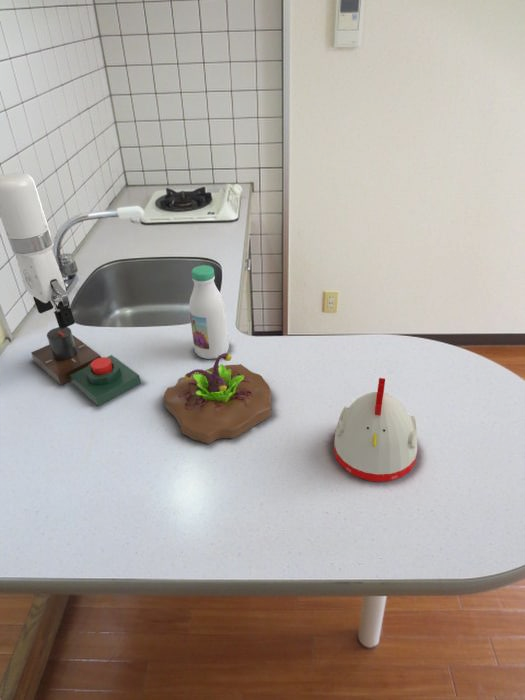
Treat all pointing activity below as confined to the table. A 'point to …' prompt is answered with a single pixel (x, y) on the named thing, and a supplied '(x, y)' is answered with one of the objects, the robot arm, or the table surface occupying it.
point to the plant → (219, 401)
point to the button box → (105, 381)
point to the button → (101, 366)
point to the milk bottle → (207, 315)
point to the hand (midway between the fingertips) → (56, 318)
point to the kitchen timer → (376, 437)
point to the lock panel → (64, 361)
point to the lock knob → (62, 343)
